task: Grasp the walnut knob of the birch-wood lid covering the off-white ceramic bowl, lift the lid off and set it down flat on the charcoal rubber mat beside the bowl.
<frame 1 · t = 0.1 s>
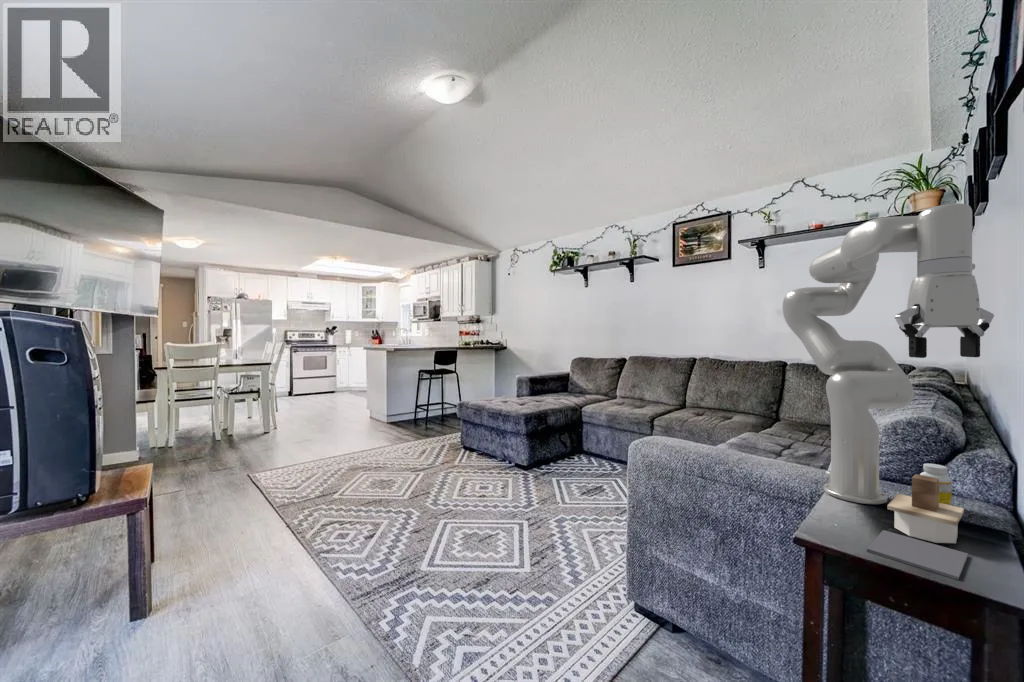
hand: (943, 357, 83), 37 cm above the table, tool pointing down, fingers open, 9 cm apart
supplement bottle: (935, 506, 100), on the table
bowl: (925, 532, 87), on the table
lid: (925, 510, 87), point 4 cm above the table, touching bowl
mat: (916, 553, 79), on the table
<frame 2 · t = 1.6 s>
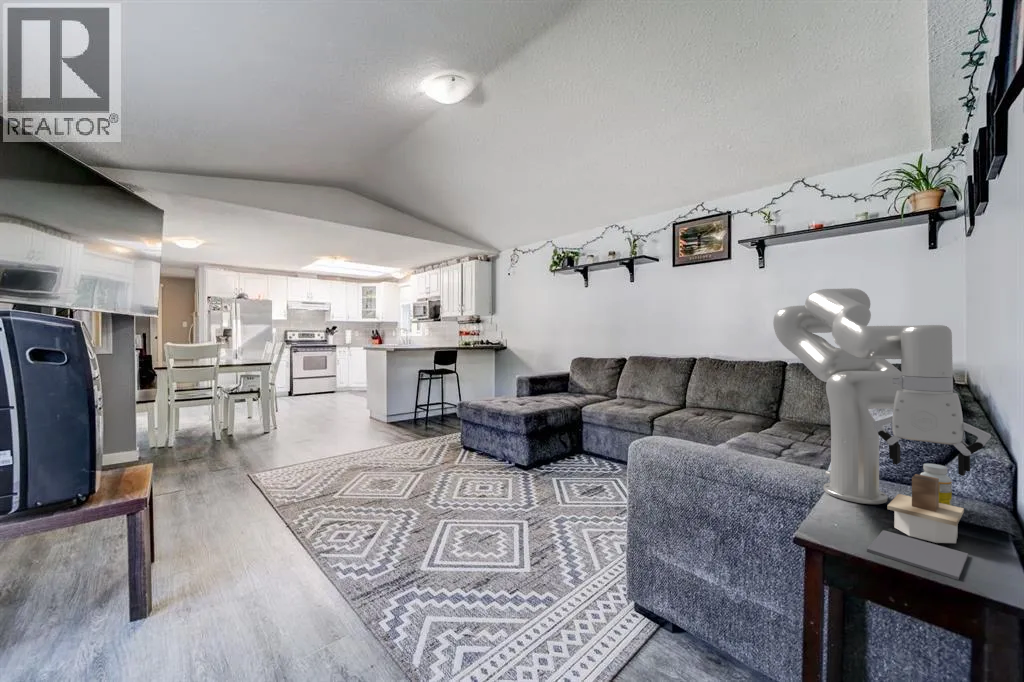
hand: (927, 468, 86), 13 cm above the table, tool pointing down, fingers open, 9 cm apart
nothing on the table moved.
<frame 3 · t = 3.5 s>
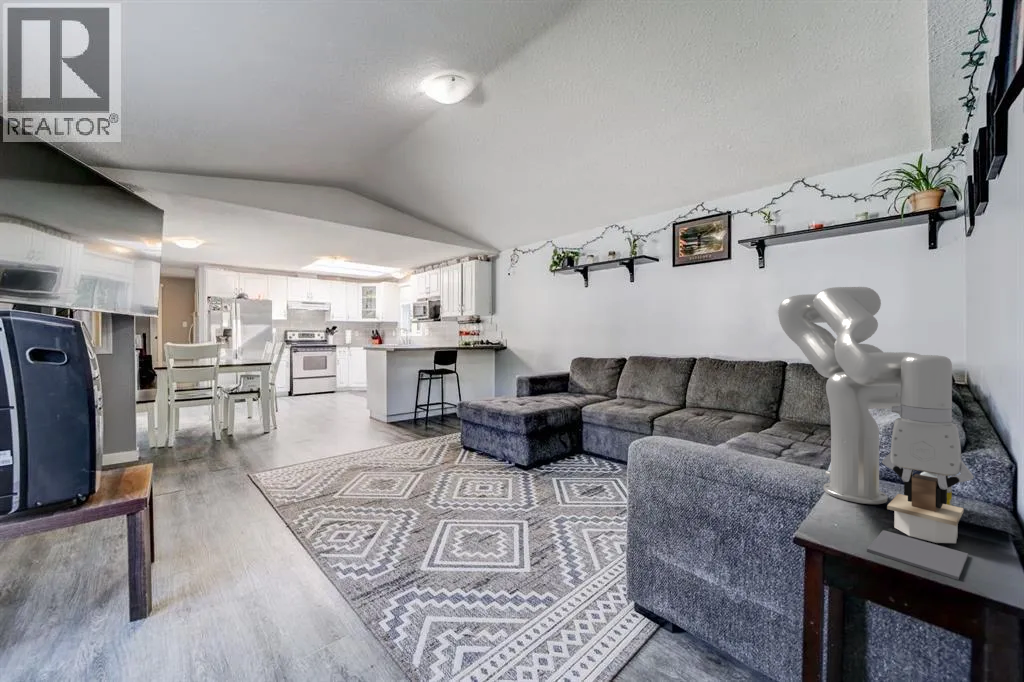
hand: (925, 502, 87), 6 cm above the table, tool pointing down, fingers closed on lid, 3 cm apart
lid: (924, 510, 87), point 5 cm above the table, touching bowl, gripper
everything else where it was.
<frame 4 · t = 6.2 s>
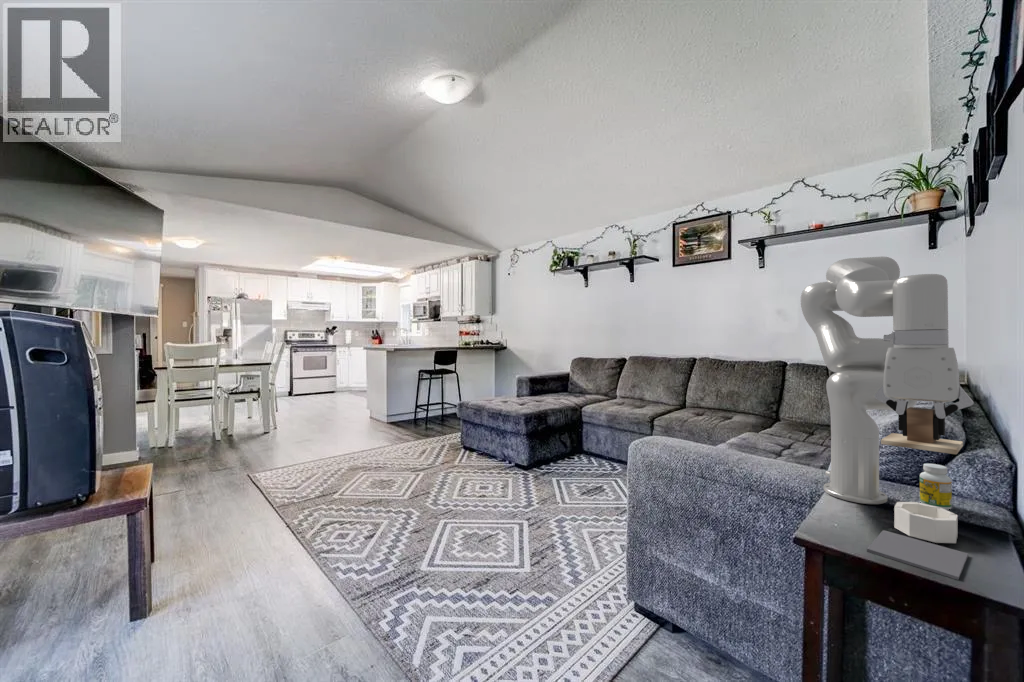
hand: (921, 436, 80), 22 cm above the table, tool pointing down, fingers closed on lid, 3 cm apart
lid: (921, 444, 80), point 20 cm above the table, touching gripper
everything else where it was.
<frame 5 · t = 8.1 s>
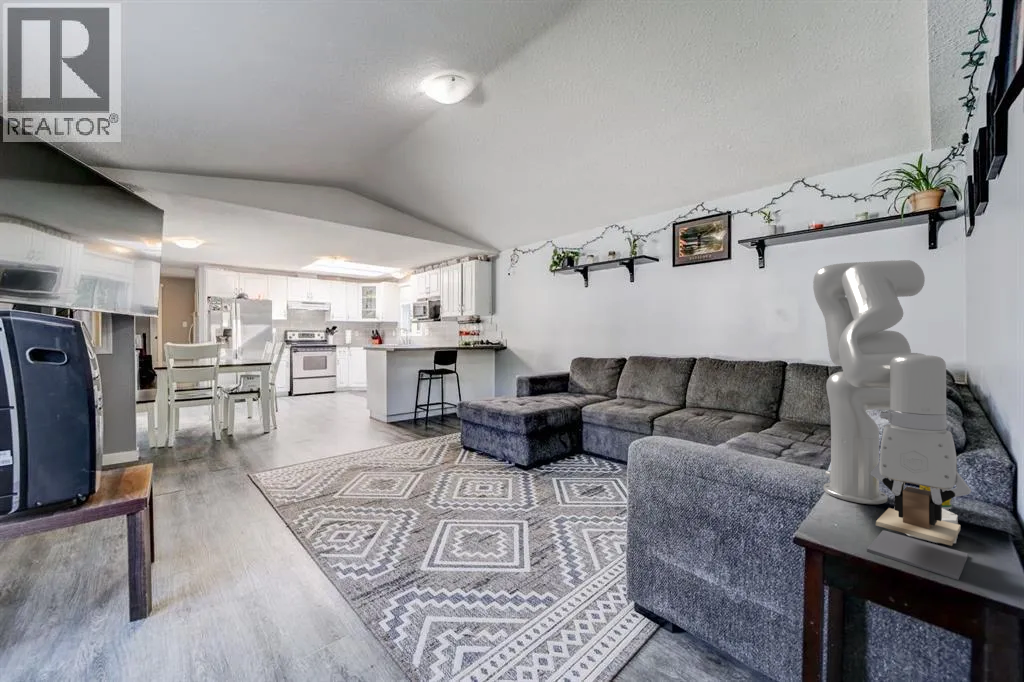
hand: (917, 518, 78), 7 cm above the table, tool pointing down, fingers closed on lid, 3 cm apart
lid: (917, 527, 78), point 5 cm above the table, touching gripper
everything else where it was.
when the fingers open (4 cm above the table, at t = 9.4 s): lid drops 1 cm, resting on mat.
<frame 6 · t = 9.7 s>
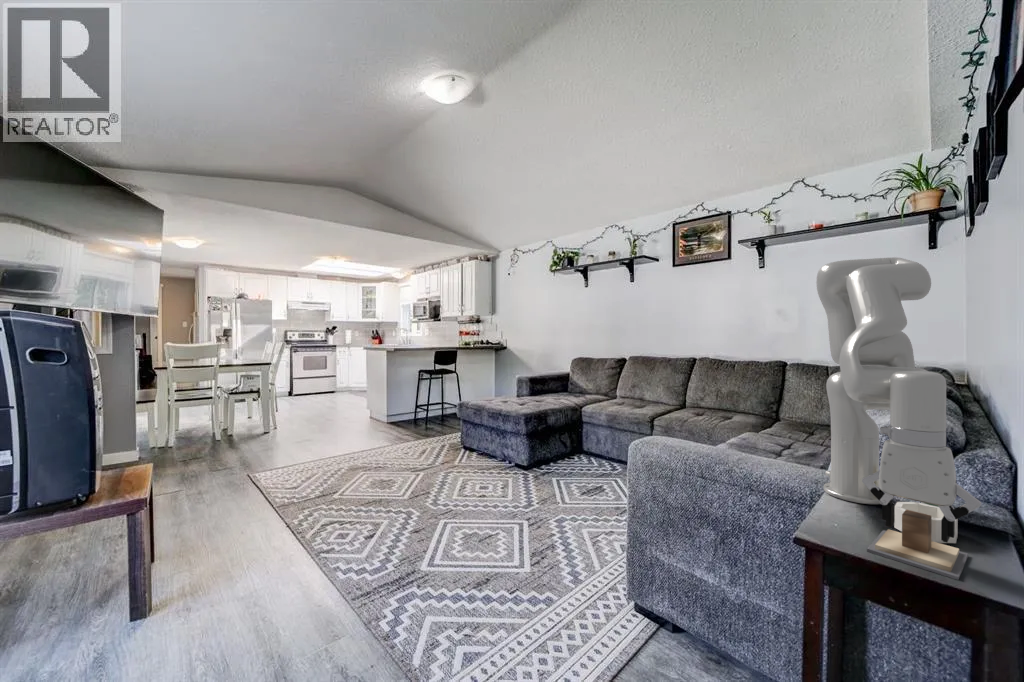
hand: (916, 531, 79), 4 cm above the table, tool pointing down, fingers open, 7 cm apart
lid: (916, 550, 79), resting on mat
everything else where it was.
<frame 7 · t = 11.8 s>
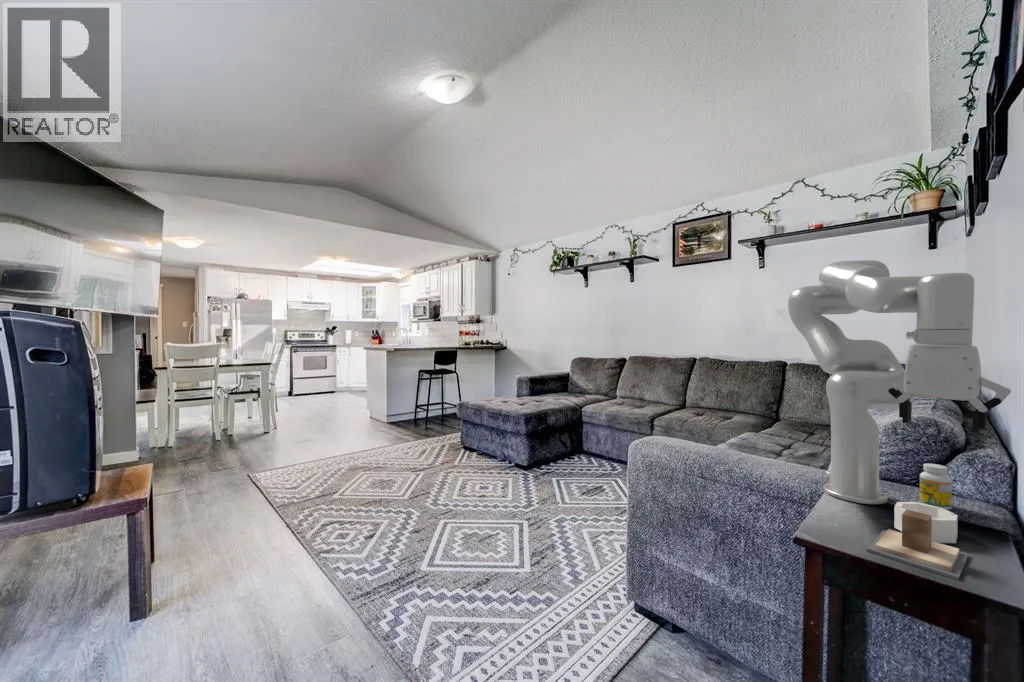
hand: (940, 426, 81), 23 cm above the table, tool pointing down, fingers open, 9 cm apart
nothing on the table moved.
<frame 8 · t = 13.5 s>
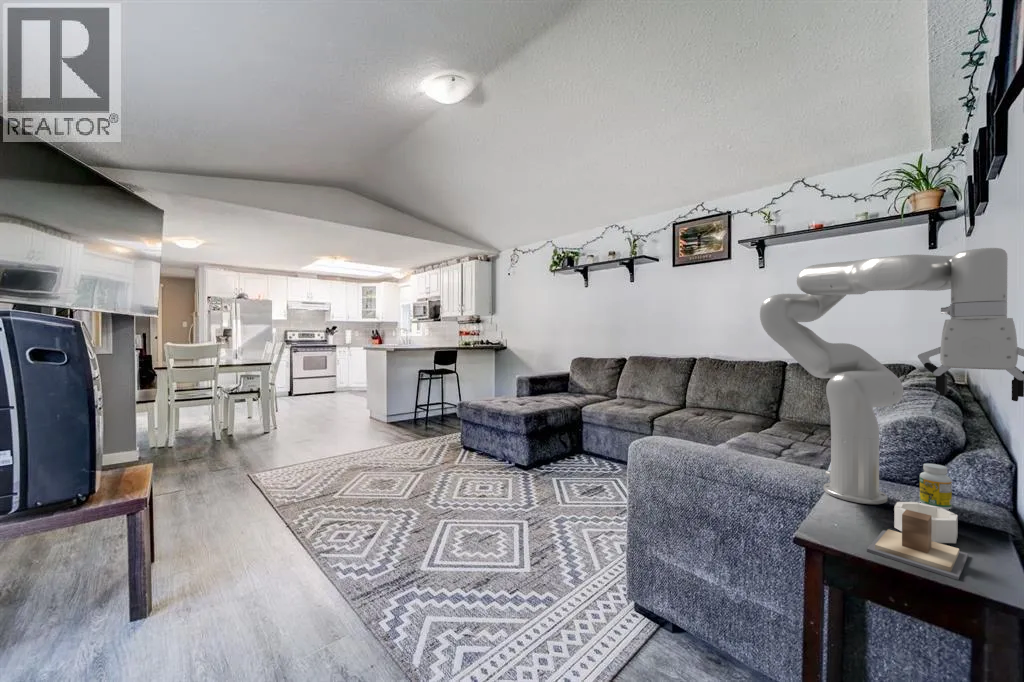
hand: (977, 397, 84), 28 cm above the table, tool pointing down, fingers open, 9 cm apart
nothing on the table moved.
at the end: lid inside the target area on the mat (0.1 cm from its centre), point 0.5 cm above the mat's base; lid touching mat; lid tilted 0° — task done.
